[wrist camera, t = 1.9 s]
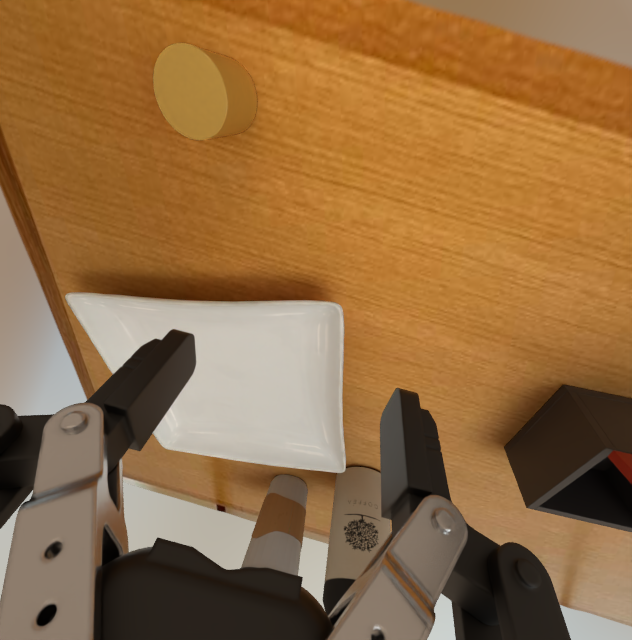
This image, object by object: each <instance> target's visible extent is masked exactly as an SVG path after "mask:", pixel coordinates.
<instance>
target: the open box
mask: <svg viewBox="0 0 632 640" xmlns="http://www.w3.org/2000/svg"><path fill="white" fill-rule="evenodd" d="M504 449H505V451H506V454H507V457H508V460H509V462H510V465H511V468H512V470H513V473H514V476H515V478H516V481H517V484H518V486H519V489H520V492H521V494H522V497H523V500H524V502H525V505H526V508H529V509H534V510H538V511H542V512H547V513H551V514H555V515H559V516H564V517H568V518H572V519H577V520H581V521H585V522H590V523H594V524H598V525H603V526H607V527H611V528H616V529H620V530H624V531H629V532H632V484H631V483H630V482H629V481H628V480H627V478H626V477H625V476H624V475H623V474H622V473H621V472H620V470H619V469H618V468H617V467H616V466H615V465H614V464H613V462H612V461H611V460H610V459H609V458H608V456H609V454H610V453H611V452H612V451H613V450H615V451H620V452H624V453H629V454H632V399H631V398H626V397H622V396H617V395H612V394H607V393H602V392H597V391H593V390H588V389H583V388H578V387H573V386H568V385H563V386H562V387H561V388H560V389H559V390H558V391H557V392H556V393H555V394H554V395H553V396H552V397H551V398H550V399H549V400H548V401H547V403H546V404H545V405H544V406H543V407H542V408H541V409H540V410H539V411H538V412H537V413H536V414H535V415H534V416H533V417H532V418H531V420H530V421H529V422H528V423H527V424H526V425H525V426H524V427H523V428H522V429H521V430H520V431H519V432H518V433H517V434H516V435H515V436H514V438H513V439H512V440H511V441H510V442H509V443H508V444H507V445H506V446H505V447H504Z"/></svg>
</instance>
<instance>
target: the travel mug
mask: <svg viewBox="0 0 632 640" xmlns="http://www.w3.org/2000/svg"><path fill="white" fill-rule="evenodd" d="M389 534H390V519H386V518H383V517H381V473H379V472H377V471H375V470H373V469H369V468H365V467H350V468H346V469H345V471H344V472H342V473H338V474H337V476H336V484H335V493H334V502H333V511H332V520H331V529H330V538H329V547H328V557H327V566H326V575H325V584H324V594H323V603H324V607H325V612H326V614H327V615H329V614H330V613H331V611H332V610H333V609H334V607H335V606H336V605H337V603H338V602H339V600H340V599H341V598H342V597H343V595H344V594H345V593H346V591H347V590H348V589H349V588H350V587H351V585H352V584H353V583H354V582H355V581H356V579H357V578H358V577H359V575H360V574H361V573H362V571H363V570H364V568H365V567H366V566H367V564H368V563H369V562H370V560H371V559H372V558H373V556H374V555H375V553H376V552H377V551H378V549H379V548H380V547H381V545H382V544H383V543H384V541H385V540H386V538H387V537H388V536H389Z"/></svg>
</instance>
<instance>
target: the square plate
mask: <svg viewBox="0 0 632 640" xmlns="http://www.w3.org/2000/svg"><path fill="white" fill-rule="evenodd" d="M65 298H66V301H67V303H68V305H69V306H70V308H71V309H72V311H73V312H74V314H75V316H76V317H77V319H78V320H79V322H80V323H81V325H82V327H83V328H84V330H85V331H86V333H87V334H88V336H89V337H90V339H91V341H92V342H93V344H94V345H95V347H96V348H97V350H98V352H99V354H100V355H101V357H102V358H103V360H104V361H105V363H106V364H107V366H108V367H109V369H110V371H111V372H112V374H114V373H115V372H116V371H117V370H118V369H119V368H120V367H122V366H123V364H124V363H125V362H126V361H127V360H128V359H129V358H131V356H132V355H133V354H134V353H135V352H136V351H137V350H138V349H139V348H140V347H141V346H142V345H144V344H146V343H148V342H150V341H151V340H153V339H155V338H156V339H159V340H162V339H163V338H164V337H165V336H166V334H167V333H168V332H169V331H170V330H172V329H176V330H180V331H184V332H187V333H191V334H193V335H194V337H195V350H196V367H195V370H194V373H193V375H192V376H191V378H190V379H189V381H188V382H187V384H186V385H185V387H184V388H183V390H182V391H181V392H180V394H179V395H178V397H177V398H176V400H175V401H174V403H173V404H172V406H171V407H170V408H169V410H168V411H167V413H166V414H165V416H164V417H163V419H162V420H161V422H160V423H159V424H158V426H157V427H156V429H155V430H154V432H153V434H154V436H155V437H156V438H157V440H158V441H159V443H160V444H161V445H162V446H163V447H164V448H166V449H169V450H175V451H182V452H188V453H194V454H200V455H206V456H212V457H218V458H224V459H230V460H237V461H243V462H250V463H257V464H264V465H272V466H280V467H289V468H298V469H307V470H316V471H325V472H334V473H342V472H344V471H345V469H346V455H345V444H344V432H343V402H342V394H343V363H344V361H343V359H344V315H343V310H342V307H341V306H340V305H339V304H337V303H335V302H329V301H316V300H281V301H236V302H231V301H195V300H175V299H161V298H148V297H136V296H126V295H113V294H98V293H85V292H74V293H68V294H66V296H65Z"/></svg>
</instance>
